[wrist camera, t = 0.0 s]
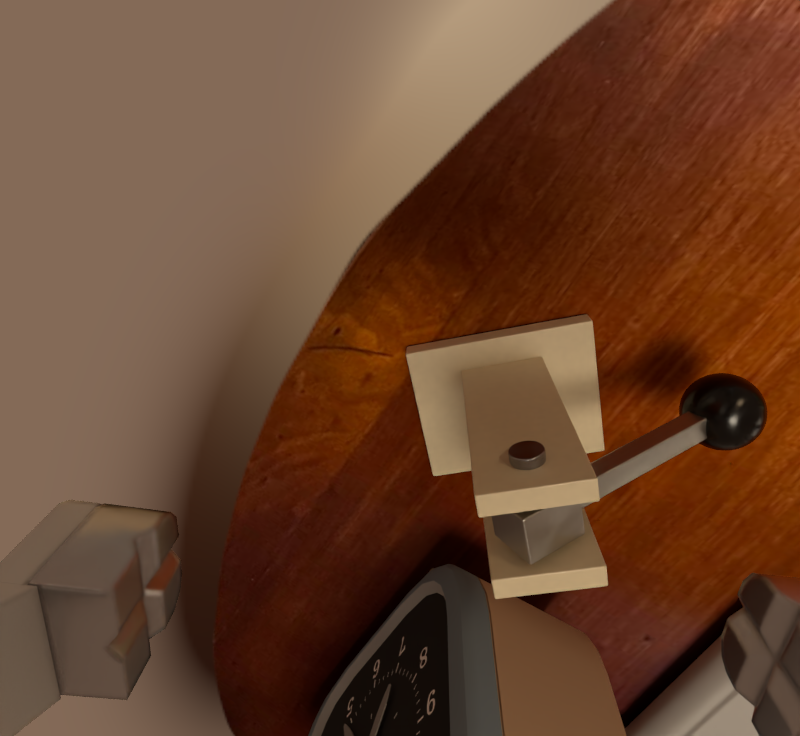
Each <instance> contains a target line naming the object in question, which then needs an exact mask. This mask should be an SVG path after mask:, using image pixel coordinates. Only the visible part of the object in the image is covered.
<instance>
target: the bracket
mask: <svg viewBox="0 0 800 736" xmlns="http://www.w3.org/2000/svg"><path fill="white" fill-rule="evenodd" d="M406 358H407V363H408V367H409V372H410V376H411V380H412V385H413V389H414V394H415V398H416V402H417V407H418V411H419V416H420V420H421V425H422V429H423V433H424V438H425V442H426V447H427V451H428V456H429V460H430V464H431V469H432V473H433V476H439V475H445V474H452V473H459V472H465V471H472V478H473V488H474V497H475V502H476V507H477V512H478V516H479V517H480V518H481V517H483V519H484V527H485V535H486V543H487V552H488V560H489V568H490V576H491V583H492V588H493V593H494V598H495V599H502V598H511V597H519V596H527V595H536V594H544V593H552V592H561V591H569V590H578V589H586V588H594V587H603V586H608V578H607V568H606V564H605V562H604V559H603V556H602V554H601V551H600V549H599V546H598V543H597V541H596V538H595V536H594V533H593V530H592V528H591V525H590V523H589V520H588V518H587V515H586V512H585V510H584V508H582V511H583V519H584V528H585V534H584V535H582V536H580V537H578V538H577V539H575V540H573V541H572V542H570V543H568V544H566V545H565V546H563V547H561V548H559V549H558V550H556V551H554V552H553V553H551V554H549V555H547V556H546V557H544V558H542V559H541V560H539V561H537V562H535V563H534V564H532V565H530V564H528V563H527V562H526V561H525V560H524V559H523V558H521V557H520V556H519V555H518V554H517V553H516V552H514V551H513V550H512V549H511V548H510V547H509V546H507V545H506V544H505V543H504V542H503V541H502V540H501V539H499V538H498V537H497V536H496V535H495V532H494V527H493V522H492V516H495V515H502V514H510V513H517V512H524V511H531V510H538V509H546V508H553V507H560V506H567V505H574V504H582V503H589V502H596V501H599V500H600V497H599V487H598V479H597V476H596V474H595V472H594V470H593V468H592V465H591V463H590V461H589V459H588V457H587V454H586V453H592V452H599V451H604V439H603V428H602V417H601V407H600V396H599V385H598V374H597V363H596V352H595V342H594V331H593V321H592V320H591V319H590V317H589V316H588V315H587V314H585V315H579V316H574V317H568V318H563V319H557V320H552V321H546V322H541V323H535V324H530V325H524V326H519V327H513V328H508V329H502V330H497V331H491V332H486V333H480V334H475V335H469V336H464V337H458V338H453V339H447V340H442V341H436V342H430V343H425V344H419V345H414V346H408V347H407V349H406Z"/></svg>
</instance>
